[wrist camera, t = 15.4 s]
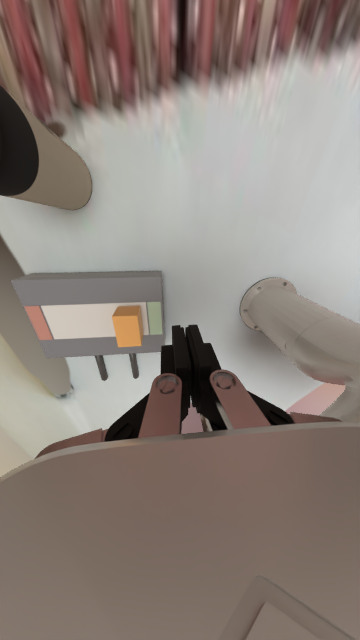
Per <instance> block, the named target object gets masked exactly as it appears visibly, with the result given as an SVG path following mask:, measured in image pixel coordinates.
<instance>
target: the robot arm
mask: <svg viewBox="0 0 360 640" xmlns="http://www.w3.org/2000/svg"><path fill="white" fill-rule="evenodd" d="M257 287H258V288H257ZM240 314H241V318H242V320H243V322H244V323H245V324H246V325H247V326H248V327H250V328H252V329H254V330H258V331H263V332H264V333H265V335H266V336H267V337H268V338H269V339H270V340H271V341H272V342H273V343H274V344H275V345H276V346H277V347H278V348H279V349H280V350H281V351H282V352H283V353H284V354H285V355H286V356H287V357H288V358H289V359H290V360H291V361H292V362H293V363H294V364H295V365H296V366H297V367H298V368H299V369H300V370H301V371H302V372H303V373H304V374H306V375H307V376H309V377H311V378H313V379H315V380H318V381H322V382H326V383H332V384H338V385H345V386H346V388H345V390H344V392H343V393H342V394H341V395H340V396H339V397H338V398H337V400H336V401H335V402H334V403H332V404H331V405H330V406H329V407H328V408H327V409H326V410H325V411H323V412H322V413H321V414H320V415H319V416H317V415H309V414H302V413H295V412H290V414H287V413H286V412H285V411H283V410H282V409H280V408H278V407H276V406H275V405H273V404H271V403H269V402H267V401H265V400H263V399H262V398H260V397H258V396H256V395H254V394H252V393H251V392H249V391H247V390H246V389H245V387H244V386H243V385H242V383H241V382H240V380H239V379H238V378H237V376H236V375H235V374H233V373H232V372H230V371H227V370H222V369H221V367H220V365H219V362H218V360H217V357H216V355H215V353H214V350H213V348H212V345H211V343H203V340H202V337H201V334H200V332H199V329H198V326H197V325H189V326H188V327H186V331H185V333H184V328H183V327H180V325H177V326H172V345H162V346H161V375H159V376H157V377H156V378H155V379H154V381H153V383H152V387H151V390H150V393H149V394H148V395H146V396H145V397H144V398H143V399H142V400H140V401H139V402H138V403H137V404H136V405H135V406H133V407H132V408H131V409H130V410H129V411H127V412H126V413H125V414H124V415H123V416H121V417H120V418H119V419H118V420H117V421H116V422H114V423H113V424H112V425H111V426H110V428H109V429H106V430H102V428H101V429H98V430H95V431H91V432H88V433H85V434H82V435H78V436H75V437H72V438H69V439H65V440H62V441H59V442H56V443H53V444H51V445H49V446H47V447H46V448H45V449H43V450H42V451H41V452H40V453H39V454H38V455H37V456H36V458H35V459H33V460H31V461H29V462H27V463H25V464H23V465H21V466H19V467H17V468H15V469H13V470H11V471H10V472H9V473H7V474H5V475H3V476H2V477H0V640H360V324H358V323H356V322H353V321H351V320H349V319H347V318H345V317H343V316H341V315H339V314H337V313H335V312H333V311H331V310H328V309H326V308H324V307H322V306H320V305H318V304H316V303H314V302H312V301H310V300H308V299H306V298H304V297H301V296H299V295H297V292H296V289H295V288H294V286H293V285H292V284H291V283H290V282H288V281H287V280H284V279H282V278H268V279H264V280H262V281H260V282H258V283H256V284H255V285H254V286H252V287H251V288H250V289H249V290H248V292H247V293H246V294H245V296H244V298H243V300H242V302H241V306H240ZM190 396H191V400H192V406H193V407H196V410H197V413H200V414H201V415H203V416H204V417H205V420H206V424H207V426H208V429H209V432H198V433H187V434H181V430H182V421H183V420H184V419H185V418H186V416H187V415H188V408H190Z"/></svg>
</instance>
